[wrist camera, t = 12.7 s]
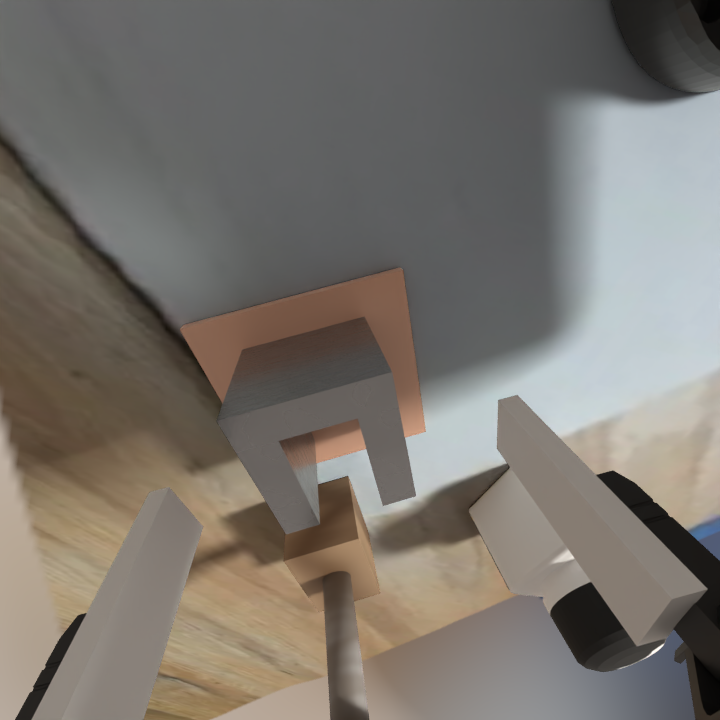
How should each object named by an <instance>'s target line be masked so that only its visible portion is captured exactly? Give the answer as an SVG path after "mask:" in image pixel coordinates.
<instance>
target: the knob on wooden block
mask: <svg viewBox="0 0 720 720" xmlns="http://www.w3.org/2000/svg"><path fill="white" fill-rule="evenodd" d="M318 498H319V515H320V525H317V526H313V527H310V528H306V529H303V530H300V531H296V532H293V533H290V534H286V533H285V543H284V562H285V564H286V565H287V567H288V568H289V570H290V571H291V573H292V574H293V576H294V577H295V579H296V580H297V582H298V583H299V584H300V586H301V587H302V589H303V590H304V592H305V593H306V595H307V596H308V598H309V599H310V601H311V602H312V604H313V605H314V606H315V608H316V609H317V611H318V612H321V611H324V613H325V631H326V649H327V666H328V684H329V701H330V718H331V720H369V714H368V706H367V698H366V690H365V683H364V675H363V668H362V660H361V652H360V644H359V636H358V629H357V621H356V613H355V606H354V601H357V600H360V599H364V598H367V597H370V596H373V595H377V594H380V589H379V584H378V579H377V574H376V569H375V564H374V559H373V554H372V548H371V543H370V538H369V533H368V530H367V527H366V524H365V521H364V519H363V516H362V513H361V510H360V507H359V505H358V502H357V499H356V496H355V494H354V491H353V488H352V485H351V482H350V480H349V477H348V476H347V477H344V478H340V479H337V480H334V481H330V482H327V483H323V484H320V485H318Z"/></svg>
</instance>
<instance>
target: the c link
mask: <svg viewBox="0 0 720 720" xmlns="http://www.w3.org/2000/svg"><path fill="white" fill-rule="evenodd" d="M354 419H358V421H359V425H360V428H361V432H362V435H363V439H364V442H365V445H366V449H367V452H368V456H369V459H370V463H371V466H372V470H373V473H374V476H375V480H376V483H377V487H378V490H379V494H380V497H381V500H382V504H383V506H384V505H388V504H391V503H394V502H398V501H401V500H404V499H408V498H411V497H415V496H416V493H415V488H414V483H413V478H412V473H411V467H410V462H409V457H408V452H407V447H406V441H405V436H404V431H403V426H402V421H401V415H400V410H399V405H398V400H397V395H396V389H395V384H394V379H393V374H392V371H391V369H390V367H389V365H388V363H387V361H386V359H385V357H384V355H383V353H382V351H381V349H380V347H379V345H378V343H377V341H376V339H375V337H374V335H373V333H372V331H371V329H370V327H369V325H368V323H367V321H366V319H365V317H361V318H357V319H353V320H350V321H346V322H342V323H338V324H335V325H331V326H327V327H324V328H320V329H316V330H313V331H309V332H305V333H302V334H298V335H294V336H290V337H287V338H283V339H279V340H276V341H272V342H268V343H265V344H261V345H257V346H254V347H250V348H246V349H243V350H242V351H241V354H240V357H239V360H238V362H237V365H236V368H235V371H234V373H233V376H232V379H231V382H230V385H229V387H228V390H227V393H226V396H225V399H224V401H223V404H222V407H221V410H220V412H219V415H218V418H217V423H218V425H219V426H220V428H221V429H222V431H223V433H224V434H225V436H226V438H227V439H228V441H229V442H230V444H231V446H232V447H233V449H234V451H235V452H236V454H237V455H238V457H239V459H240V460H241V462H242V464H243V465H244V467H245V468H246V470H247V472H248V473H249V475H250V476H251V478H252V480H253V481H254V483H255V485H256V486H257V488H258V489H259V491H260V493H261V494H262V496H263V498H264V499H265V501H266V502H267V504H268V506H269V507H270V509H271V511H272V512H273V514H274V515H275V517H276V519H277V520H278V522H279V524H280V525H281V527H282V528H283V530H284V532H285V533H286V534H290V533H293V532H296V531H300V530H303V529H306V528H310V527H313V526H317V525H320V515H319V498H318V481H317V464H316V447H315V440H314V438H313V435H312V433H311V432H312V431H316V430H319V429H323V428H326V427H330V426H333V425H337V424H340V423H344V422H347V421H351V420H354Z"/></svg>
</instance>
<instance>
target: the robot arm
mask: <svg viewBox="0 0 720 720" xmlns="http://www.w3.org/2000/svg"><path fill="white" fill-rule="evenodd" d="M612 2H613V6H614V10H615V14H616V17H617V21H618V24H619V27H620V29H621V32H622V35H623V37H624V39H625V41H626V43H627V45H628V47H629V49H630V51H631V52H632V54H633V56H634V57H635V59H636V60H637V61H638V63H639V64H640V65H641V67H642V68H643V69H644V70H645V71H646V72H647V73H648V74H649V75H651V76H652V77H653V78H655V79H656V80H657V81H659V82H661V83H662V84H664V85H666V86H669V87H671V88H673V89H677V90H681V91H687V92H710V91H716V90H720V0H612ZM497 449H498V451H499V452H500V454H501V455H502V456H503V458H504V459H505V461H506V462H507V463H508V465H509V466H510V468H511V469H512V470H513V472H514V473H515V475H516V476H517V478H518V479H519V480H520V482H521V483H522V485H523V486H524V487H525V489H526V490H527V492H528V493H529V495H530V496H531V497H532V499H533V500H534V502H535V503H536V504H537V506H538V507H539V509H540V510H541V512H542V513H543V514H544V516H545V517H546V519H547V520H548V521H549V523H550V524H551V526H552V527H553V528H554V530H555V531H556V533H557V534H558V536H559V537H560V538H561V540H562V541H563V543H564V544H565V545H566V547H567V548H568V550H569V551H570V553H571V554H572V555H573V557H574V558H575V560H576V561H577V562H578V564H579V565H580V567H581V568H582V570H583V571H584V572H585V574H586V575H587V577H588V578H589V579H590V581H591V582H592V584H593V585H594V586H595V588H596V589H597V591H598V592H599V594H600V595H601V596H602V598H603V599H604V601H605V602H606V603H607V605H608V606H609V608H610V609H611V611H612V612H613V613H614V615H615V616H616V618H617V619H618V620H619V622H620V623H621V625H622V626H623V628H624V629H625V630H626V632H627V633H628V635H629V636H630V637H631V639H632V640H633V642H634V643H635V644H636V646H640V645H644V644H647V643H651V642H655V641H658V640H662V639H665V638H667V637H668V636H669V634H670V633H671V632H672V631H673V630H675V631H676V632H677V634H678V635H679V636H680V637H681V638H682V640H683V641H684V642H683V643H682V644H681V645H680V647H679V648H678V649H677V650H676V651H675V658H674V660H675V661H676V662H678V663H682V662H683V661H684V660H685V659H686V663H687V668H688V675H689V681H690V688H691V693H692V700H693V707H694V713H695V718H696V720H720V561H719V560H718V559H717V558H716V557H715V556H713V554H711V553H710V552H709V551H708V550H707V549H706V548H705V547H704V546H703V545H702V544H700V543H699V542H698V541H697V540H696V539H695V538H694V537H693V536H692V535H691V534H690V533H689V532H688V531H687V530H685V529H684V528H683V527H682V526H681V525H680V524H679V523H678V522H677V521H676V520H675V519H674V518H672V517H670V516H669V515H668V513H667V512H666V511H665V510H664V509H663V508H662V507H660V506H659V505H658V504H657V503H654V502H653V499H652V498H651V497H650V496H649V495H647V494H646V493H645V492H644V491H643V490H642V489H641V488H640V487H639V486H638V485H637V484H635V483H634V482H632V481H631V480H629V479H627V478H625V477H624V476H622V475H620V474H618V473H617V472H615V471H609V472H606V473H602V474H598V475H595V474H594V473H593V472H592V471H591V470H590V469H589V468H588V467H587V466H586V464H585V463H584V462H583V461H582V460H581V459H580V458H579V457H578V456H577V455H576V454H575V453H574V452H573V451H572V450H571V449H570V448H569V447H568V446H567V445H566V444H565V443H564V442H563V441H562V440H561V439H560V438H559V437H558V436H557V435H556V434H555V433H554V432H553V431H552V430H551V429H550V428H549V427H548V426H547V425H546V424H545V423H544V422H543V421H542V420H541V419H540V418H539V417H538V416H537V415H536V414H535V413H534V412H533V411H532V409H531V408H530V407H529V406H528V405H527V404H526V403H525V402H524V401H523V400H522V399H521V398H520V397H519V396H518V395H515V396H512V397H508V398H504V399H500V400H498V428H497ZM202 529H203V526H202V525H201V524H200V522H199V521H198V520H197V519H196V518H195V517H194V515H193V514H192V513H191V512H190V511H189V510H188V508H187V507H186V506H185V505H184V504H183V503H182V502H181V500H180V499H179V498H178V497H177V496H176V495H175V493H174V492H173V491H172V490H171V489H170V488H169V487H167V488H164V489H160V490H156V491H152V492H149V494H148V496H147V498H146V500H145V502H144V504H143V506H142V508H141V510H140V512H139V513H138V515H137V517H136V519H135V521H134V523H133V525H132V527H131V529H130V531H129V533H128V535H127V537H126V539H125V540H124V542H123V544H122V546H121V548H120V550H119V552H118V554H117V556H116V558H115V560H114V562H113V564H112V566H111V567H110V569H109V571H108V573H107V575H106V577H105V579H104V581H103V583H102V585H101V587H100V589H99V591H98V592H97V594H96V596H95V598H94V600H93V602H92V604H91V606H90V608H89V610H88V612H87V613H85V614H81V615H78V616H77V617H76V619H75V620H74V621H73V622H72V624H71V625H70V626H69V628H68V629H67V630H66V631H65V633H64V634H63V635H62V636H61V638H60V639H59V641H58V643H57V644H56V646H55V648H54V650H53V652H52V653H51V656H50V657H49V659H48V661H47V663H46V667H45V669H44V670H42V672H41V673H40V675H39V677H38V679H37V681H36V683H35V685H34V686H33V687H34V689H33V691H32V692H30V693H29V695H28V697H27V699H26V701H25V703H24V705H23V706H22V708H21V710H20V712H19V714H18V716H17V717H16V719H15V720H143V719H144V716H145V712H146V709H147V706H148V703H149V700H150V696H151V693H152V690H153V687H154V683H155V680H156V677H157V674H158V671H159V667H160V664H161V661H162V658H163V654H164V651H165V648H166V645H167V642H168V638H169V635H170V632H171V629H172V625H173V622H174V619H175V616H176V613H177V609H178V606H179V603H180V600H181V596H182V593H183V590H184V587H185V584H186V580H187V577H188V574H189V571H190V567H191V564H192V561H193V558H194V555H195V551H196V548H197V545H198V542H199V538H200V535H201V532H202Z"/></svg>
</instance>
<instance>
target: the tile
mask: <svg viewBox="0 0 720 720" xmlns="http://www.w3.org/2000/svg"><path fill="white" fill-rule="evenodd" d="M361 317H365V319H366V321H367V323H368V325H369V327H370V329H371V331H372V333H373V335H374V337H375V339H376V341H377V343H378V345H379V347H380V349H381V351H382V353H383V355H384V357H385V359H386V361H387V363H388V365H389V367H390V369H391V371H392V374H393V379H394V384H395V389H396V395H397V400H398V405H399V410H400V415H401V421H402V426H403V431H404V436H405V437H409V436H412V435H416V434H419V433H423V432H426V430H425V422H424V415H423V408H422V401H421V394H420V387H419V380H418V372H417V365H416V358H415V351H414V344H413V337H412V330H411V322H410V315H409V308H408V301H407V294H406V287H405V280H404V273H403V269H401V268H400V267H399V268H396V269H392V270H388V271H384V272H381V273H377V274H373V275H369V276H366V277H362V278H358V279H354V280H351V281H347V282H343V283H339V284H336V285H332V286H328V287H324V288H320V289H317V290H313V291H309V292H305V293H302V294H298V295H294V296H290V297H287V298H283V299H279V300H275V301H272V302H268V303H264V304H260V305H256V306H253V307H249V308H245V309H241V310H238V311H234V312H230V313H226V314H223V315H219V316H215V317H211V318H208V319H204V320H200V321H196V322H193V323H189V324H185V325H183V326H182V327H181V328H180V331H181V333H182V334H183V336H184V338H185V340H186V341H187V343H188V345H189V346H190V348H191V350H192V352H193V353H194V355H195V357H196V359H197V360H198V362H199V364H200V365H201V367H202V369H203V371H204V372H205V374H206V376H207V377H208V379H209V381H210V383H211V384H212V386H213V388H214V390H215V391H216V393H217V395H218V396H219V398H220V400H221V402H222V403H223V401H224V399H225V396H226V393H227V390H228V387H229V385H230V382H231V379H232V376H233V373H234V371H235V368H236V365H237V362H238V360H239V357H240V354H241V351H242V350H243V349H246V348H250V347H254V346H257V345H261V344H265V343H268V342H272V341H276V340H279V339H283V338H287V337H290V336H294V335H298V334H302V333H305V332H309V331H313V330H316V329H320V328H324V327H327V326H331V325H335V324H338V323H342V322H346V321H350V320H353V319H357V318H361ZM311 433H312V435H313V438H314V440H315V447H316V463H319V462H322V461H326V460H329V459H333V458H336V457H340V456H343V455H346V454H350V453H353V452H357V451H360V450H364V449H366V445H365V442H364V439H363V435H362V432H361V428H360V425H359V421H358V419H354V420H351V421H347V422H344V423H340V424H337V425H333V426H330V427H326V428H323V429H319V430H316V431H312V432H311Z"/></svg>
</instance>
